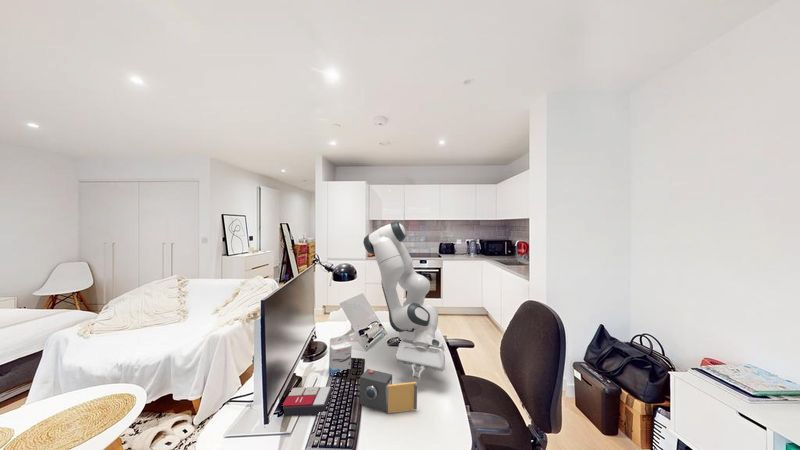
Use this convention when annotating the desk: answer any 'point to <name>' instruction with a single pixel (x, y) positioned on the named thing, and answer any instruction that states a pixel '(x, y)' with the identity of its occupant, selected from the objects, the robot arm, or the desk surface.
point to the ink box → (339, 354)
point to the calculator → (306, 401)
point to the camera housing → (374, 389)
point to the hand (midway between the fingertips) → (416, 377)
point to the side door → (401, 397)
